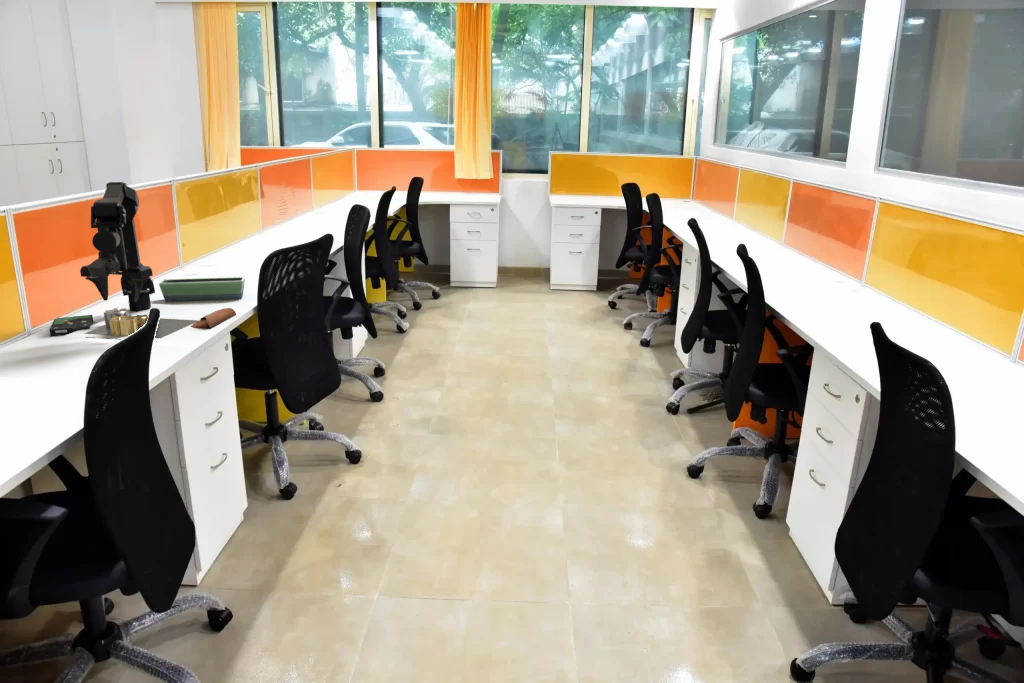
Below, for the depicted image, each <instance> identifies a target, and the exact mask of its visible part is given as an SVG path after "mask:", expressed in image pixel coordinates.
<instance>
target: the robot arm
mask: <svg viewBox="0 0 1024 683" xmlns="http://www.w3.org/2000/svg"><path fill="white" fill-rule="evenodd" d="M138 207H140V201H139V196H138V193H137V191H136V189H133V188H132V187H130V186H128V185H127V183H125V182H123V181H109V182H106V189H105V191H104V195H103V197H102V198H100V199H96V200H95V201H94V202H93V204H92V205H91V206H90V228H91V229H96V230H97V232H96V233H95V234H94V235H93V236H92V240H91V242H92V245H93V247H94V249H95V250H97V251H98V253H97V254H98V258H97V259H95V260H93V261H92V262H91V263H90V264H87V265H82V266H81V267H80V269H79V272H80V277H83V278H85V280H87V281H89V282H91V283H92V284H93V285H94V287H95V288H96V289H97V290H98V292H99V294H100V296H101V298H102V299H103V301H105V302H106V301H108V299H109V276H110V275H118V276H121V277H120V285H121V291H122V296H125V297H126V296H128V307H129V310H130V312H142V311H148V310H150V309H151V307H152V304H151V297H150V296H151V295H153V294H155V293H156V290H155V285H154V282H153V281H154V280H153V279H152V278H151V277H152V276H153V269H152V267H150V266H149V265H143V264H142V263H141V257H140V250H139V244H138V237H137V230H136V224H135V217H136V214H137V212H138V210H139V208H138Z"/></svg>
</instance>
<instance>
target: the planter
mask: <svg viewBox="0 0 1024 683" xmlns="http://www.w3.org/2000/svg"><path fill="white" fill-rule="evenodd" d="M245 280H246V278H245V277H244V276H238V277H237V276H234V277H232V276H230V277H229V276H228V277H201V278H200V277H199V278H197V277H196V278H195V277H194V278H168V279H167V278H166V279H162V280H161V281H159V283H158V284H159V285H158V286H159V288H160V292H161V294H162V296H163V299H164V301H165V303H185V302H186V303H187V302H209V301H210V302H211V301H212V302H214V301H236V300H238V301H240V300H242V299H243V296H244V290H245ZM239 299H240V300H239Z"/></svg>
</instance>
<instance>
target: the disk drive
mask: <svg viewBox="0 0 1024 683" xmlns="http://www.w3.org/2000/svg"><path fill="white" fill-rule="evenodd" d="M93 324H94V317H93V314H85V315H74V316H67V317H66V316H65V317H56V318H54V319H53V321H52V323H51V325H50V328H49V335H50V337H61V336H62V337H63V336H67V335H70V334H73V333H76V332H78V331H83V330H91V327H93Z"/></svg>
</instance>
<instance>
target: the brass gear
mask: <svg viewBox="0 0 1024 683" xmlns="http://www.w3.org/2000/svg"><path fill="white" fill-rule="evenodd" d="M130 315H131V314H130ZM130 315H129V316H119V317H115V318H114V317H113V318H111V320H110V327H111V334H112V335H111V336H114V335H116V336H115V337H129V336H128V335H130V334H132V333H134V332H135V331H137V330H138V324H137V317H133V316H134V315H131V316H130ZM121 319H126V320H121Z"/></svg>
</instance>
